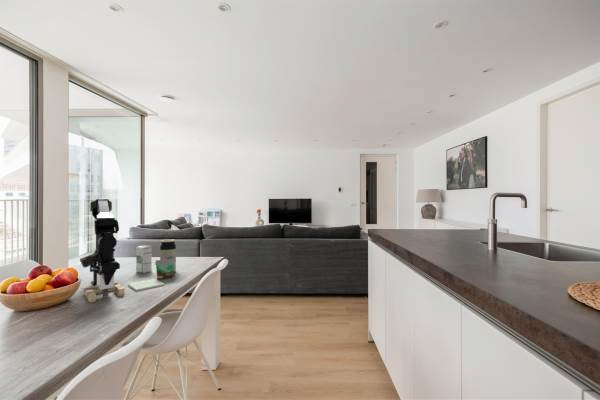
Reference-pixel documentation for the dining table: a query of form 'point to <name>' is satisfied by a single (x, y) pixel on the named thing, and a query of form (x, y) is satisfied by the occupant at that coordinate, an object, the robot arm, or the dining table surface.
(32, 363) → the dining table surface
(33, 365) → the dining table surface
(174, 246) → the travel mug
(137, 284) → the board
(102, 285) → the steel collar
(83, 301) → the dining table surface
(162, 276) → the food container
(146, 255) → the syrup box
